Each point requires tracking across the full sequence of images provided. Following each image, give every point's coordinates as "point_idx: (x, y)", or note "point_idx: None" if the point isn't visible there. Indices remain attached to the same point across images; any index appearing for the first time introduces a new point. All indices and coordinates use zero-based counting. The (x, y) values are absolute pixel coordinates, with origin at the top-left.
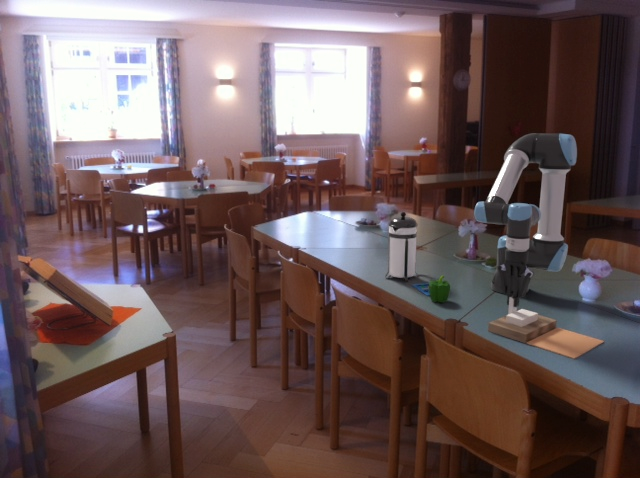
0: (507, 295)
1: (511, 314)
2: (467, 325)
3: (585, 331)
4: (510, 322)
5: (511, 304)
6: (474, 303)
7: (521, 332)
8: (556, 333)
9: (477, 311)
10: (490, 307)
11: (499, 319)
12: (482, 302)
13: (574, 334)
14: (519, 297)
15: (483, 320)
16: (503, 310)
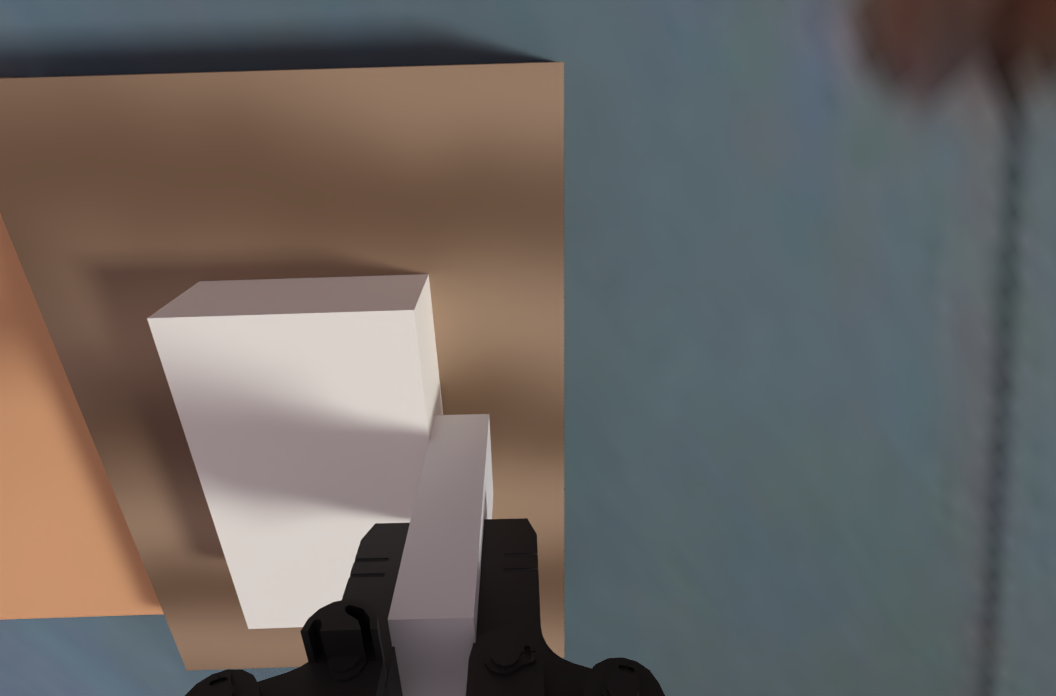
0: (525, 642)
1: (394, 389)
2: (851, 18)
3: (69, 685)
4: (358, 280)
5: (431, 521)
6: (1032, 591)
7: (40, 104)
8: (100, 510)
9: (932, 464)
10: (870, 608)
11: (541, 294)
12: (977, 647)
13: (20, 587)
14: (236, 674)
15: (771, 312)
16: (747, 624)
